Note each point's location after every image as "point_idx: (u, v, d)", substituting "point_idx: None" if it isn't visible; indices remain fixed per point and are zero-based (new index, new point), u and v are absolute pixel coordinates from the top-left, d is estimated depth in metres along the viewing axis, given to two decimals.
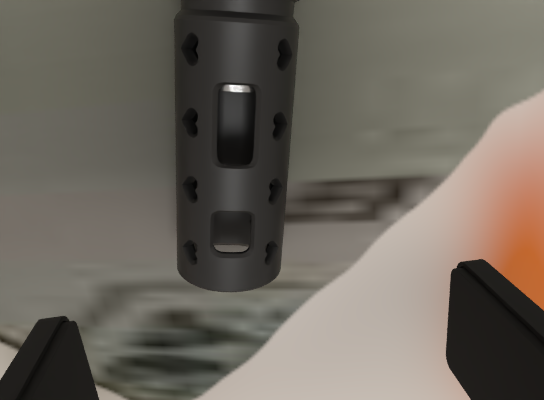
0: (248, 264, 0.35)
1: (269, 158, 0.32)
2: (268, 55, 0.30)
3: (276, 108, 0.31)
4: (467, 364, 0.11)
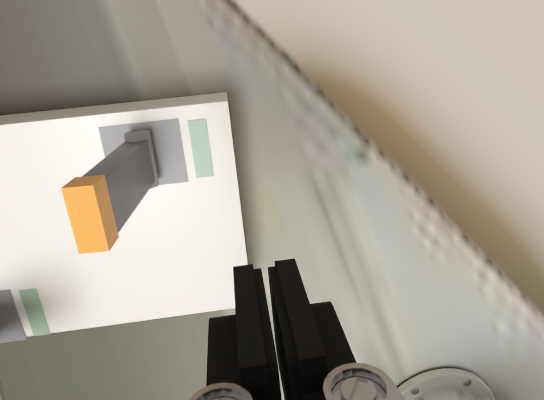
0: None
1: None
2: None
3: None
4: (278, 356, 0.11)
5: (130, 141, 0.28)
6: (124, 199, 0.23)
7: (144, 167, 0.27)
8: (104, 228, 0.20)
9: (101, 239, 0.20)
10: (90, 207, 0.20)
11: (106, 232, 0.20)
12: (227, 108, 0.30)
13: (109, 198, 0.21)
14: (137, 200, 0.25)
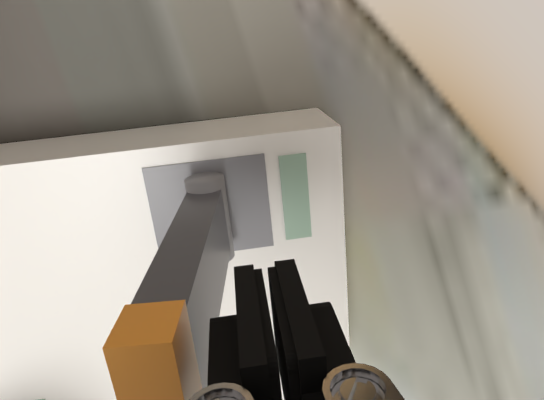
0: None
1: None
2: None
3: None
4: (278, 356, 0.11)
5: (196, 193, 0.18)
6: (208, 319, 0.13)
7: (221, 238, 0.17)
8: None
9: None
10: (163, 383, 0.09)
11: None
12: (339, 136, 0.19)
13: (192, 343, 0.11)
14: (219, 304, 0.15)
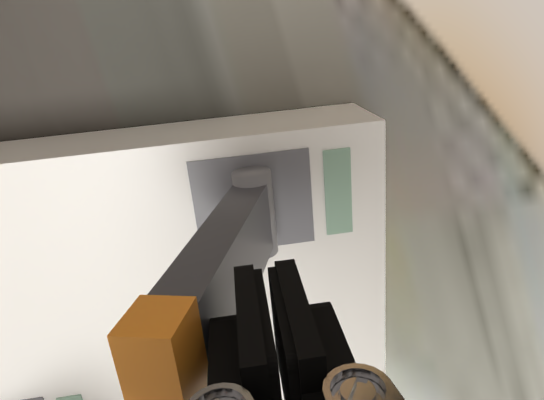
0: None
1: None
2: None
3: None
4: (278, 356, 0.11)
5: (240, 187, 0.17)
6: None
7: (261, 234, 0.17)
8: None
9: None
10: (163, 377, 0.09)
11: None
12: (383, 131, 0.19)
13: (202, 340, 0.11)
14: None
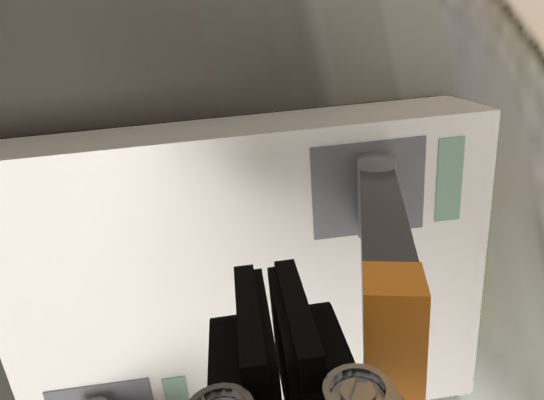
0: None
1: None
2: None
3: None
4: (278, 356, 0.11)
5: (371, 171, 0.18)
6: None
7: None
8: (426, 373, 0.10)
9: (416, 392, 0.10)
10: (411, 335, 0.10)
11: None
12: (498, 120, 0.20)
13: None
14: None
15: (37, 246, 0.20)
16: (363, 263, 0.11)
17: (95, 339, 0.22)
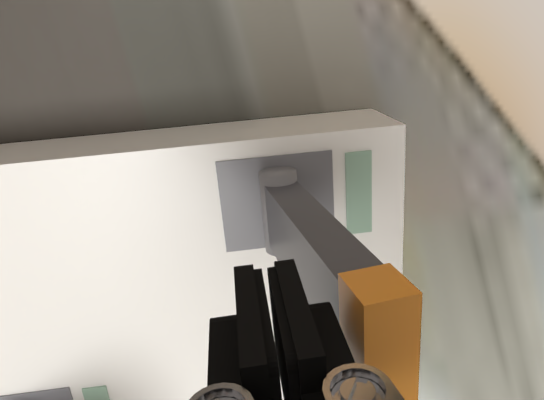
0: None
1: None
2: None
3: None
4: (278, 356, 0.11)
5: (277, 186, 0.18)
6: None
7: None
8: (417, 367, 0.11)
9: (410, 387, 0.11)
10: (406, 334, 0.10)
11: None
12: (404, 135, 0.20)
13: None
14: None
15: None
16: (340, 275, 0.11)
17: (12, 349, 0.22)
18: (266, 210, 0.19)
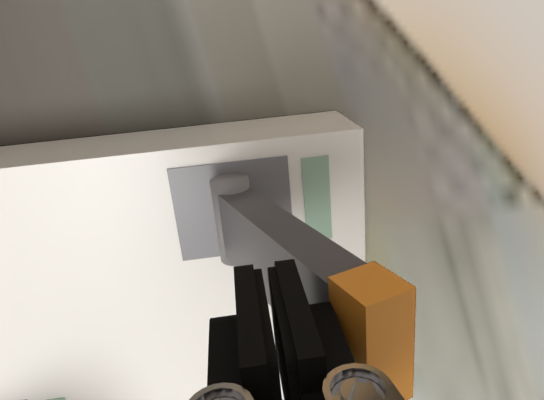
0: None
1: None
2: None
3: None
4: (278, 356, 0.11)
5: (231, 194, 0.18)
6: None
7: None
8: (412, 359, 0.11)
9: (406, 381, 0.11)
10: (402, 329, 0.10)
11: None
12: (361, 139, 0.20)
13: None
14: None
15: None
16: (331, 278, 0.11)
17: None
18: (221, 219, 0.18)
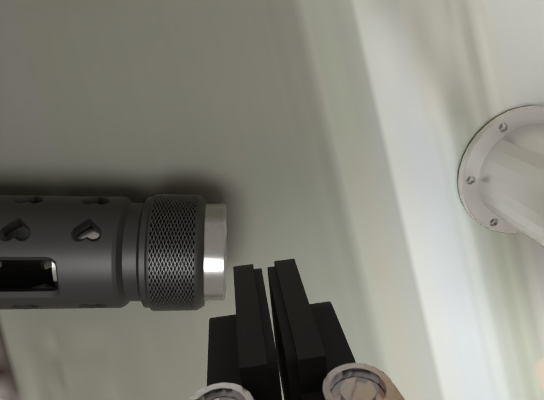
0: None
1: None
2: (88, 299, 0.33)
3: (42, 305, 0.34)
4: (278, 356, 0.11)
5: None
6: None
7: None
8: None
9: None
10: None
11: None
12: None
13: None
14: None
15: None
16: None
17: None
18: None
